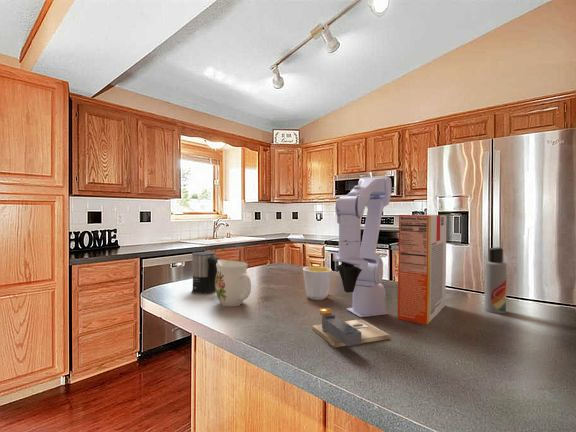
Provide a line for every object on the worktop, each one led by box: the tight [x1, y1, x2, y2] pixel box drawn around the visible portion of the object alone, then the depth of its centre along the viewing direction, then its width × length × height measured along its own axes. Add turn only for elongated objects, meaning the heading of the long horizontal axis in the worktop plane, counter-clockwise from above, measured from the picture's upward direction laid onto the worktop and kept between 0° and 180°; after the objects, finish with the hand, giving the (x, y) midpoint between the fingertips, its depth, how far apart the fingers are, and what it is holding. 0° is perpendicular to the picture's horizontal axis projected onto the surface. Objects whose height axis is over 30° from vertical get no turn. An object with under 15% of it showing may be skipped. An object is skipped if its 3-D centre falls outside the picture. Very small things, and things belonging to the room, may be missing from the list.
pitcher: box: [215, 259, 252, 307], centre depth 107 cm, size 11×18×14 cm, turn 43°
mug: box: [302, 266, 333, 301], centre depth 117 cm, size 14×10×10 cm
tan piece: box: [312, 315, 390, 348], centre depth 82 cm, size 15×12×5 cm
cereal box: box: [397, 214, 448, 325], centre depth 101 cm, size 23×8×30 cm, turn 143°
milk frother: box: [191, 251, 221, 295], centre depth 126 cm, size 14×16×15 cm
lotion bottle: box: [483, 247, 508, 314], centre depth 102 cm, size 6×6×20 cm
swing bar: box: [319, 307, 362, 347], centre depth 76 cm, size 14×4×4 cm, turn 21°
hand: (349, 291), depth 87 cm, fingers closed
